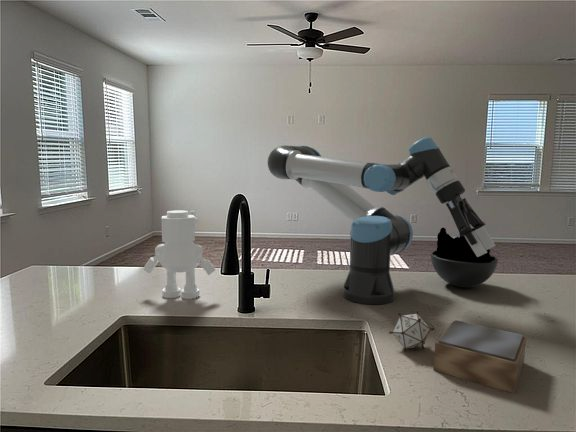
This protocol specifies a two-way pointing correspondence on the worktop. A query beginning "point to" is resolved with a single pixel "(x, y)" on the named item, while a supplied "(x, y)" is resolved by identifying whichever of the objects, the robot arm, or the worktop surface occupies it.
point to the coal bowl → (461, 261)
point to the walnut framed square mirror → (481, 355)
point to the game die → (411, 331)
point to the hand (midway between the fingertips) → (487, 251)
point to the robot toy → (179, 254)
